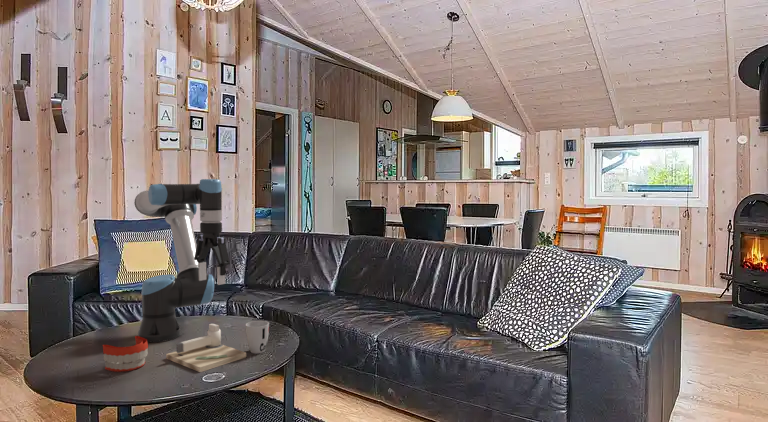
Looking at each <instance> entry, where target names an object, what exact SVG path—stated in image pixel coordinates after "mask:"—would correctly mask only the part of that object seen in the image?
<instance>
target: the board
mask: <svg viewBox="0 0 768 422" xmlns="http://www.w3.org/2000/svg"><path fill="white" fill-rule="evenodd" d="M165 356H166V357H165V359H167V360H169V361H172V362H174V363H176V364H178V365H181V366H184V367H186V368H189V369H190V370H191V369H192V370H194V371H196V372H199V373H203V372H206V371H208V370H209V371H210V370H211V369H215V368H219V367H221V366H224V365H227V364H230V363H234V362H237V361H239V360H243V359H245V358H247V352H245V351H241V350H239V349H236V348H234V347H231V346H227V345H224V344H223V343H222V342H221V345H219V346H215V347H210V346H208V345H206V346H203V347H199V348H196V349H192V350H189V351H185V352H180V353H177V350H176V351H172V352H169V353H166V354H165Z"/></svg>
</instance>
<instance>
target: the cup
mask: <svg viewBox="0 0 768 422" xmlns="http://www.w3.org/2000/svg"><path fill="white" fill-rule="evenodd" d="M245 330H246V331H245V332H246V333H245V334H246V340H247V345H248V348H249V351H250V353H252V354H257V355H258V354H261V353H264V352H265V351H266V349H267V347H268V346H267V345H268V340H269V333H270V332H269V331H270V321H266V320H253V321H249V322H246V323H245Z"/></svg>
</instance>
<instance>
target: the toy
mask: <svg viewBox="0 0 768 422" xmlns="http://www.w3.org/2000/svg"><path fill="white" fill-rule="evenodd" d="M134 339H135V344H134V345H130V346H115V345H110V344H102V351H103V353H102V354H103V361H104V363H105V366H104V369H105V370H106V371H110V372H113V373H114V372H117V373H123V372H125V373H126V372H130V371H134V370H135V371H136V370H138V369H140V368H142V367H144V365H145V364H146V357H147V356H148V355H149V353H148V352H149V350H148V348H149V344H148V343H149V342H147V339H145V338H142V337H140V336H138V335H135V336H134Z"/></svg>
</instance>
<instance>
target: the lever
mask: <svg viewBox="0 0 768 422" xmlns="http://www.w3.org/2000/svg"><path fill="white" fill-rule="evenodd" d="M206 331H207V332H206V333H207V335H203V336H199V337H196V338H192V339H189V340H184V341H180V342H179V343H177V344H176V351H177V353H180V352H185V351H189V350H192V349H196V348H199V347H203V346H206V345H208V346H210V347H215V346H219V345H221V343H222V336H221V335H222V330H221V329H220V325H218V324H215V323H210V324H209V323H208V330H206Z"/></svg>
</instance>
